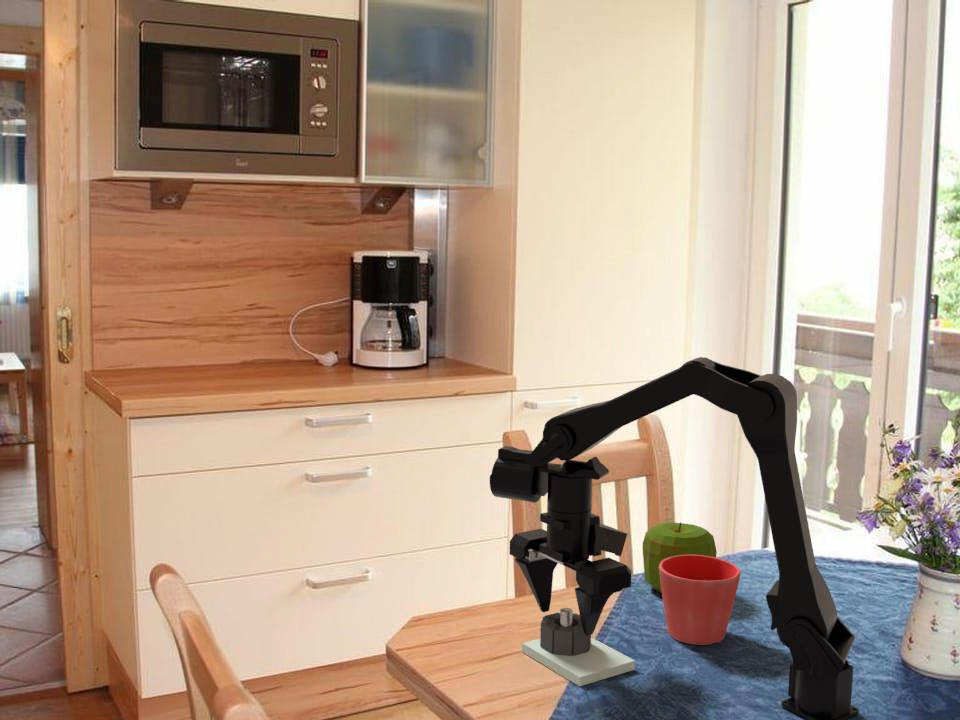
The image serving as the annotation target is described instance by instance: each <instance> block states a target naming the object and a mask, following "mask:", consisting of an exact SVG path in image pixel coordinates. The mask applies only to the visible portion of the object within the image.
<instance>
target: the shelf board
mask: <svg viewBox="0 0 960 720" xmlns="http://www.w3.org/2000/svg"><path fill="white" fill-rule="evenodd" d="M521 647H522V648H521V652H522V653H523V654H525V655H527V656H528V657H530V658H532V659H533V660H535V661H536V662H538V663H539V664H541V665H543V666H545V667H547V668H548V669H550V670H551V671H553V672H555V673H557V674H558V675H560V676H561V677H563V678H565V679H567V680H568V681H570V682H572V683H573V684H575V685H576V686H578V687H583V686H586V685H589V684H593V683H595V682H596V683H597V682H599V681H601V680H606V679H608V678H612V677H614V676H615V677H616V676H618V675H622V674H624V673H628V672H631V671H635V668H636V660H635V659H632V658H631V657H629V656H627V655H625V654H623V653H621V652H620V651H617V650H616V649H615V648H612V647H610V646H609V645H606V644H604V643H602V642H601V641H598V640H597V639H595V638H593V637H592V636H591V645H590V650H589V651H588V652H586V653H583V654H579V655H575V656H573V655H572V656H566V655H555V654H554V653H553V654H551V653H550V652H548V651H546V650H544V649H543V648H541V646H540V638H536V639H533V640H529V641H526V642H522V645H521Z"/></svg>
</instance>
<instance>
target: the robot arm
mask: <svg viewBox="0 0 960 720" xmlns="http://www.w3.org/2000/svg"><path fill="white" fill-rule="evenodd" d="M692 395H695V396H698V397H700V398H702V399H704V400H706V401H707V402H709V403H711V404H713V405H714V406H716V407H717V408H719V409H721V410H723V411H726V412H728V413H732V414H733V415H736V416H737V419H738V422H739V424H740V426H741V429H742V431H743V432H742V433H743V435H744V437H745V439H746V440H747V442H748V444H749V445H750V447H751V449H752V450H753V452H754V454H755V455H756V459H757V461H758V466H759V472H760V477H761V478H760V479H761V482H762V489H763V493H764V499H765V505H766V510H767V515H768V521H769V526H770V531H771V536H772V537H771V538H772V542H773V547H774V552H775V559H776V563H777V569H778V579H777V580H776V581H775V582H774V584H773V585H772V586H771V588H770V589H769V590H768V591H767V593H766V595H765V600H766V604H767V606H768V609H769V612H770V615H771V624H770V630H771V631H774V630H776V634H777V637H778V639H779V641H780V642H781V644H782V645H783V646H785V647H786V648H788V650H789V653H790V655H791V656H790V657H791V658H792V659H791V660H792V661H791V663H790V664H789V671H788V672H789V673H788V687H787V688H788V689H787V696H788V698H786V699H783V700H781V702H780V706H781V707H783V708H784V709H786V710H789V711H790V712H793V713H794V714H796V715H798V716H800V717H802V718H804V719H806V720H847V719H849V718H852V717H854V716H857V715H859V713H860V709H859V708H858V707H856V706H854V705H852V694H853V693H852V691H853V678H854V666H853V665H851V664H850V663H849V662H848V660H847V658H848V656H849V654H850V651H851V649H852V647H853V644H854V643H855V640H856V636H855V635H854V634H853V632H852V631H851V630H850V629H849V627H848V626H846V624H845V623H844V621H842V620H841V618H839V616H838V611H837V608H836V603H835V601H834V599H833V596H832V594H831V592H830V588H829V586H828V583H827V582H826V580H825V579H824V576H823V574H821V572H820V570H819V568H818V567H817V564H816V561H815V560H816V559H815V554H814V549H813V543H812V537H811V532H810V526H809V522H808V516H807V510H806V505H805V500H804V496H803V490H802V489H803V488H802V483H801V478H800V473H799V469H798V468H799V467H798V462H797V458H796V452H795V451H796V450H795V449H796V448H795V447H796V446H795V445H796V437H797V426H798V394H797V390H796V388H795V386H794V384H793V383H792V382H791V381H790V380H788V379H787V378H786V377H785V376H783V375H780V374H776V373H766V374H762V375H760V374H757V373H756V372H752V371H749V370H746V369H743V368H738V367H734V366H731V365H726V364H722V363H720V362H717V361H714V360H712V359H710V358H708V357H702V356H701V357H700V356H699V357H696V358H693V359H691V360H689V361H686V362H685V363H683V364H682V365H681V366H680V367H678V368H677V369H676V368H675V369H674V370H672V371H670V372H668V373H665V374H664V375H661V376H659V377H658V378H655V379H653V380H651V381H649V382H646V383H644V384H642V385H639V386H638V387H635V388H634V389H632V390H629V391H628V392H625V393H623V394H620V395H618V396H617V397H615V398H612V399H610V400H606V401H601V402H596V403H591V404H588V405H584V406H579V407H576V408H573V409H570V410H567V411H566V412H563V413H560V414H558V415H556V416H552V417H551V418H550V419H548V420H547V421H546V422H545V424H544V428H543V431H542V439H541V440H540V441H539V442H538V444H537V446H535V448H534V449H533V450H528V449H521V448H517V447H514V446H508V445H504V446H502V447H500V448H498V449H497V458H496V460H495V461H494V464H493V466H492V470H491V474H490V475H489V488H490V491H491V494H492V495H493V496H494V498H495V497H496V498H502V499H509V500H515V501H521V502H528V503H533V504H535V503H537V502H539V500H541V498H542V497H545V496H546V495H547V501H546V503H547V507H546V512H541V513H540V515H539V519H540V522H541V523H544V524H546V530H545V529H543V528H537V529H533V530H528V531H522V532H517V533H515V534H513V536H512V538H511V539H510V541H509V555H510V556H512V557H515V559H514V561H515V563H516V564H517V565H518V566H519V569H520V571H521V572H522V574H523V576H524V577H525V580H526V582H527V584H528V586H529V588H530V589H531V592H532V595H533V597H534V598H535V601H536V603H537V605H538V607H539V610H540V611H541V612H542V613H547V612H549V611H550V607H551V602H552V590H553V579H554V578H553V577H554V571H555V569H556V567H557V565H558V564H559V565H562V566H564V567H566V568H569V569H571V570H573V571H575V582H576V583H577V585H578V586H577V587H574V592H575V596H576V597H575V599H576V602H577V606H578V611H579V614H580V617H581V622H582V627H583V630H584V633H585V635H587V636H588V635H591V636H592V635H593V634H594V633H595V630H596V628H597V627H596V626H597V624H598V622H599V620H600V618H601V615H602V613H603V611H604V607H605V605H606V604H607V601H608V600H609V599H610V597H612V595H613V594H615V593H619V592H621V591H623V590H624V589H628V588H631V587H632V570H631V568H630V567H628V565H627V564H625V563H622V562H620V561H617V560H615V559H613V558H612V557H606V558H601V559H595V560H590V557H591V556H593V557H598V556H601V555H602V551H603V552H607V553H609V554H614V555H615V556H616V557H621V556H622V554H623V551H624V547H625V544H626V540H627V537H628V533H626V532H624V531H622V530H620V529H617V528H614V527H611V526H609V525H606V524H603V523H601V517H600V516H599V515H597V514H594V513H592V506H593V505H592V503H593V502H592V501H593V480H596V481H597V480H600V479H601V478H604V477H605V476H606V475H608V474H609V473H610V470H609V468H608V467H606V466H605V465H604V464H603V463H602V462H601V461H600V459H599V458H598V456H596V455H595V456H593V457H591V458H589V459H588V460H587V461H583V460H574V458H578V457H579V456H581V455H582V454H584V453H587V452H588V451H590V450H591V449H593V448H595V447H596V446H598V445H599V444H601V443H602V442H603V441H605V440H606V439H607V438H609V437H611V436H612V435H613V434H614V433H616V431H618V430H619V429H621V428H623V426H624V427H625V426H626V425H628V424H631V423H633V422H634V421H637V420H639V419H642V418H644V417H646V416H648V415H651V414H652V413H653V414H654V413H655V412H657V411H659V410H661V409H663V408H666V407H668V406H670V405H673V404H674V403H675V404H676V403H677V402H679V401H681V400H683V399H686V398H688V397H690V396H692ZM557 459H558V460H560V461H564V462H563V463H562V464H560V463H559V464H558V463H551V462H552V461H554V460H557Z"/></svg>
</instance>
